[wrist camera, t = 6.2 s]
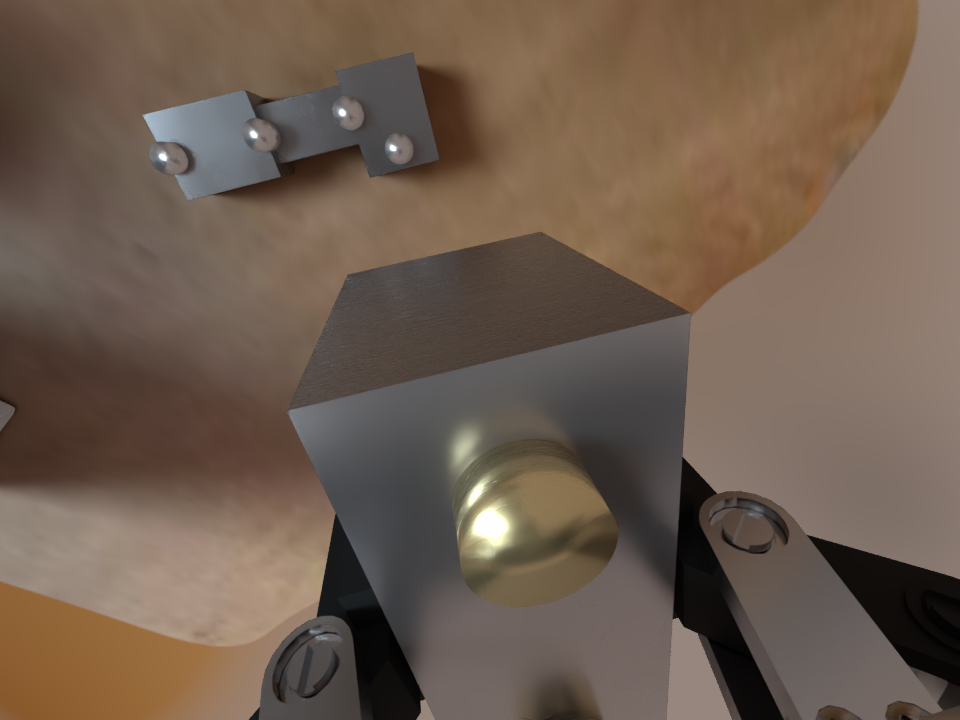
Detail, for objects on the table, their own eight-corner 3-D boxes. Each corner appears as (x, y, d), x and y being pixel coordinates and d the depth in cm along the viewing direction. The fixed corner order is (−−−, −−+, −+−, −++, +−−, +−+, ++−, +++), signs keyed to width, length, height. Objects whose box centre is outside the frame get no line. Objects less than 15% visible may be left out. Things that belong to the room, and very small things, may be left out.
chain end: (165, 121, 18) (126, 116, 16) (410, 61, 19) (412, 47, 16) (213, 216, 20) (185, 225, 18) (435, 158, 21) (440, 159, 18)
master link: (347, 275, 8) (261, 468, 3) (540, 231, 9) (751, 345, 3) (452, 586, 13) (486, 870, 8) (575, 551, 13) (687, 805, 8)
